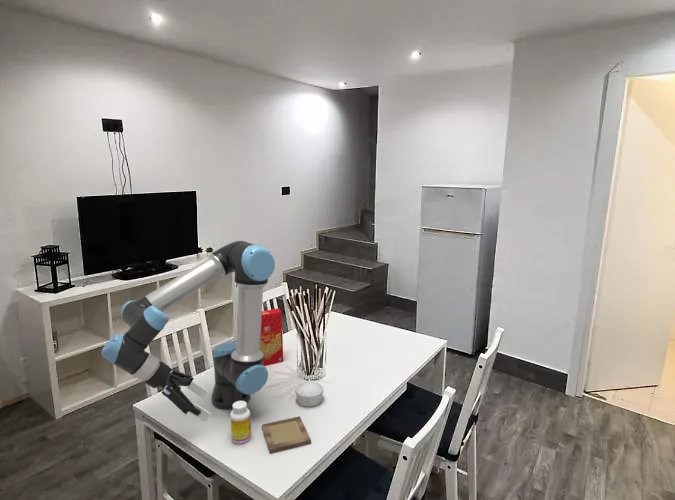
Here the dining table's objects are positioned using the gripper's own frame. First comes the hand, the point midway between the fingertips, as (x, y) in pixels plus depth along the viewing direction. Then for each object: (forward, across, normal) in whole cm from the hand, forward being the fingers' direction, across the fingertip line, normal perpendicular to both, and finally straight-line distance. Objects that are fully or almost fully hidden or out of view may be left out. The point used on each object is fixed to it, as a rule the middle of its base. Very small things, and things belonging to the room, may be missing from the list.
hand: (206, 405), depth 135 cm
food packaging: (+31, -51, +10) cm, 61 cm away
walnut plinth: (+28, +4, +7) cm, 30 cm away
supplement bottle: (+18, 0, -3) cm, 19 cm away
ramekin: (+38, -14, +17) cm, 44 cm away
